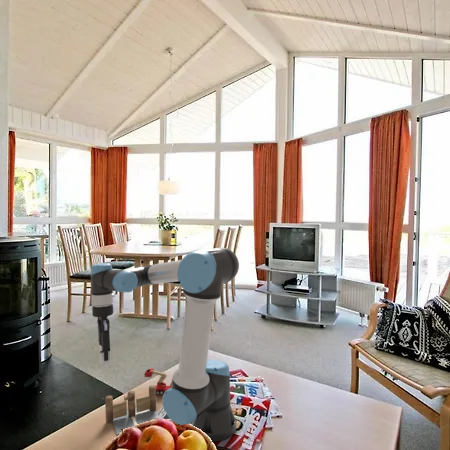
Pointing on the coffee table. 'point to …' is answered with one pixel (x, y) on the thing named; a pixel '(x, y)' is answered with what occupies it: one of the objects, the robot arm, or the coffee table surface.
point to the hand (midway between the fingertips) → (104, 365)
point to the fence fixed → (143, 402)
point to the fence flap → (117, 407)
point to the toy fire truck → (161, 385)
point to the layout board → (133, 419)
